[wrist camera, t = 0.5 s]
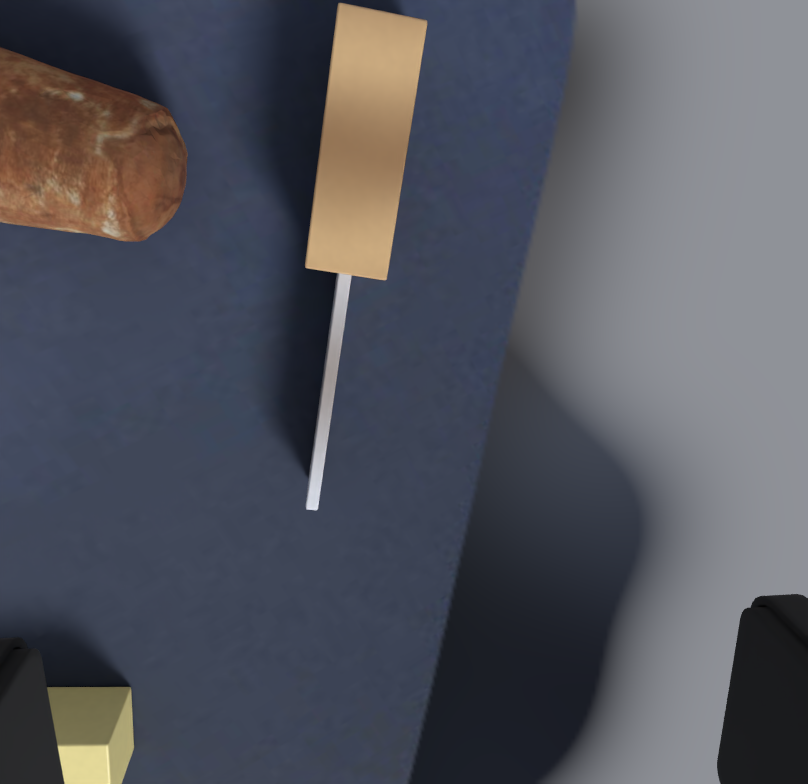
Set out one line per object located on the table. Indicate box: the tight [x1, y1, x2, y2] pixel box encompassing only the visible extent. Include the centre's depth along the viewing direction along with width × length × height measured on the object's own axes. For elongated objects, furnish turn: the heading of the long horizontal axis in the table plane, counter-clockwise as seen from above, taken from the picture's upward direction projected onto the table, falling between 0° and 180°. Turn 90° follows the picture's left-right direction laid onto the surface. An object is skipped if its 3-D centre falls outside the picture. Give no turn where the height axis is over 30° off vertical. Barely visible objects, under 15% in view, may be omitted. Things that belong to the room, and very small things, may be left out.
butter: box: [47, 687, 134, 784], centre depth 27 cm, size 5×3×3 cm, turn 86°
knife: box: [305, 3, 427, 510], centre depth 22 cm, size 15×2×3 cm, turn 171°
